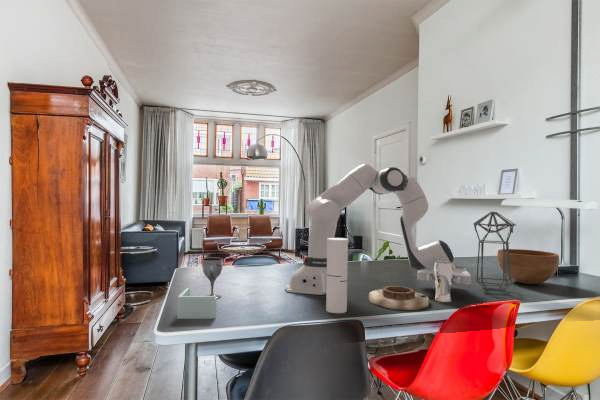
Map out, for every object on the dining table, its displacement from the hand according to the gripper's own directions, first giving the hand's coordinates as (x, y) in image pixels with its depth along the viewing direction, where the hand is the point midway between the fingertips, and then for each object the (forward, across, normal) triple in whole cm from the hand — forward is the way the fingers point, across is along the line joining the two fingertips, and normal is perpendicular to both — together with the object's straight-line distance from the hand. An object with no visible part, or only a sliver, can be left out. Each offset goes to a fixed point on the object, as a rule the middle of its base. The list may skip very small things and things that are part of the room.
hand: (442, 280), depth 138 cm
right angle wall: (+54, -74, +9) cm, 91 cm away
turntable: (+9, -16, +8) cm, 20 cm away
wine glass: (+37, -82, +8) cm, 90 cm away
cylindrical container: (+30, -33, +8) cm, 46 cm away
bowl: (-52, +36, +8) cm, 64 cm away
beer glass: (-1, 0, +8) cm, 8 cm away
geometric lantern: (-27, +19, +8) cm, 34 cm away
